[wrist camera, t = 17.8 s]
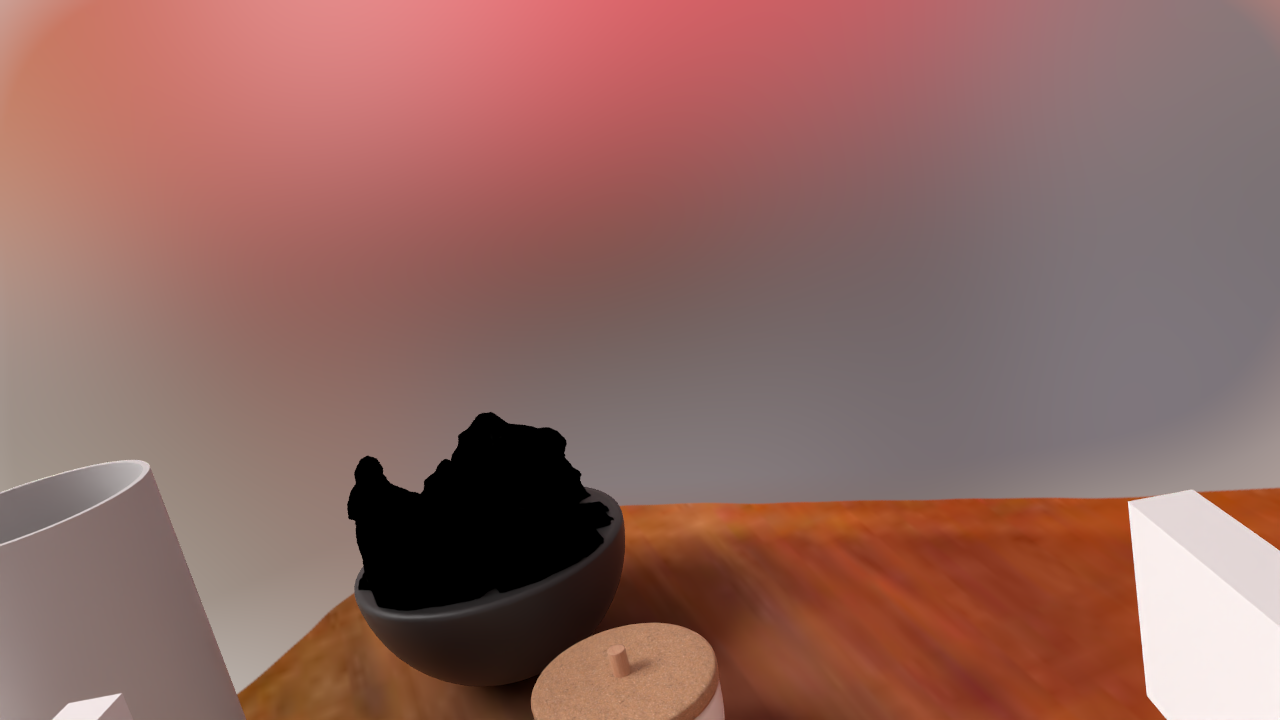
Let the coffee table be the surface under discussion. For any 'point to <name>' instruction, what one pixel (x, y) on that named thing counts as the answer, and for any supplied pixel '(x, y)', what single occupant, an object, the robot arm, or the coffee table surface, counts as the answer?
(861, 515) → the coffee table surface
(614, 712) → the lidded jar
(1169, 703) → the robot arm
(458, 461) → the coal bowl
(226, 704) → the cylinder vase
